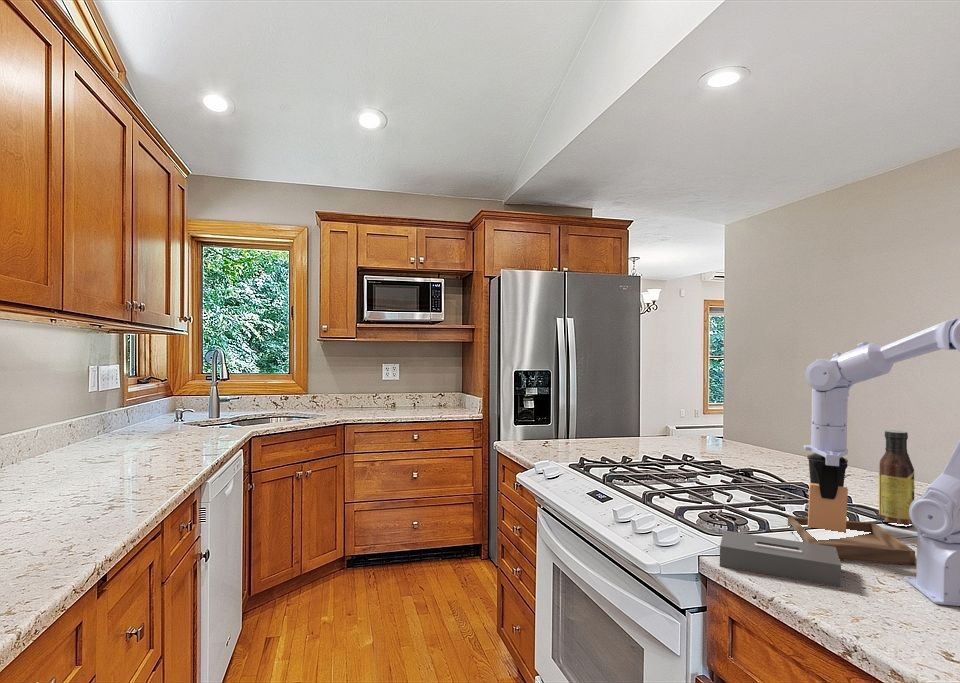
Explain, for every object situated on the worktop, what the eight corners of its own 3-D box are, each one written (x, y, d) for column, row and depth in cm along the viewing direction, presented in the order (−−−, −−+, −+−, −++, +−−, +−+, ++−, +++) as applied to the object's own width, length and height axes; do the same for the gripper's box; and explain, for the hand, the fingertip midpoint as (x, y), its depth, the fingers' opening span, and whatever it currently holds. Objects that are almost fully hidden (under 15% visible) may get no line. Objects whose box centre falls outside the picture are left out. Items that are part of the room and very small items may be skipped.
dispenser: (835, 567, 102) (835, 545, 102) (840, 586, 94) (841, 563, 94) (723, 548, 110) (723, 528, 110) (719, 565, 102) (720, 544, 102)
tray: (914, 565, 103) (915, 551, 103) (815, 557, 106) (815, 543, 106) (873, 534, 119) (873, 522, 119) (787, 528, 122) (787, 516, 122)
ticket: (844, 530, 109) (846, 487, 108) (845, 532, 107) (847, 489, 107) (807, 524, 111) (809, 482, 111) (808, 527, 110) (810, 484, 110)
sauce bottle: (920, 529, 122) (922, 434, 122) (886, 527, 123) (888, 433, 123) (904, 519, 128) (906, 429, 128) (872, 517, 130) (874, 428, 129)
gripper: (802, 417, 117) (800, 485, 117) (807, 428, 104) (805, 504, 104) (843, 420, 114) (841, 489, 114) (853, 431, 101) (852, 509, 101)
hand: (827, 497), depth 109 cm, fingers closed on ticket, 1 cm apart
